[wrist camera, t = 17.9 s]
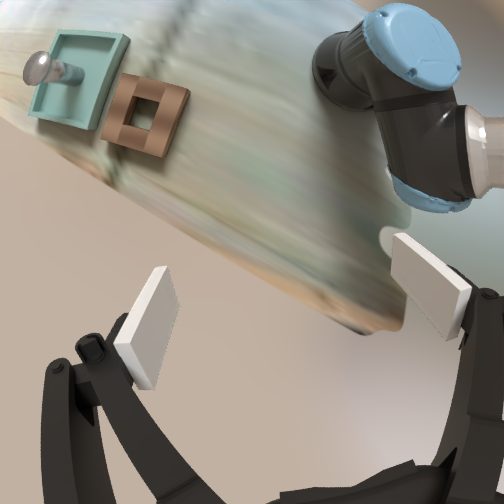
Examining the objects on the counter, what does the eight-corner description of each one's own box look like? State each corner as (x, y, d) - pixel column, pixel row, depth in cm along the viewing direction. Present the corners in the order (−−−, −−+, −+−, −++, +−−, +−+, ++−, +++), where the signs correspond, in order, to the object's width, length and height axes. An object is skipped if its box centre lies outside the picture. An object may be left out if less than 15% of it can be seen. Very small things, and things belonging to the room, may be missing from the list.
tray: (67, 33, 33) (58, 29, 30) (130, 39, 36) (123, 33, 33) (38, 115, 40) (27, 115, 37) (96, 129, 43) (86, 129, 39)
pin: (70, 61, 36) (30, 50, 24) (92, 64, 37) (53, 51, 25) (61, 88, 38) (18, 84, 26) (82, 92, 39) (40, 86, 27)
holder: (129, 75, 39) (122, 72, 36) (190, 91, 41) (187, 88, 39) (107, 138, 43) (100, 138, 41) (165, 156, 46) (161, 157, 43)
